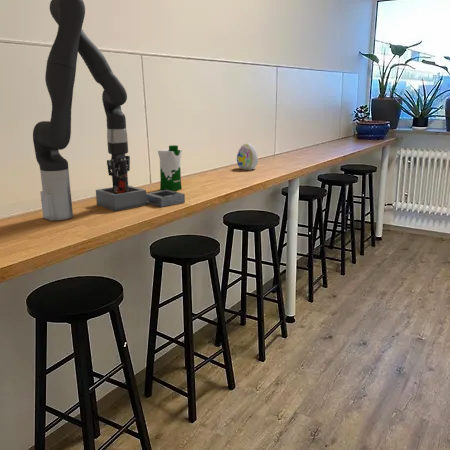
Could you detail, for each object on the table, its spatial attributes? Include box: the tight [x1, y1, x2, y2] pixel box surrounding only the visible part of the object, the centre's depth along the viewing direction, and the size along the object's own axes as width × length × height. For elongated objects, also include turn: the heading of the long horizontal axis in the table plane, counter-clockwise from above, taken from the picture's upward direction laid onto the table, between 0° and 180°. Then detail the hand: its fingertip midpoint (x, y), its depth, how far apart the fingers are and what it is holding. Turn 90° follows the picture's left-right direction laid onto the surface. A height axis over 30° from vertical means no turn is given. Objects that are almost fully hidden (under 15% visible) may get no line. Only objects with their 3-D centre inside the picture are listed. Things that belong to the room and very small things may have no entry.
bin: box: [95, 185, 148, 212], centre depth 177 cm, size 14×14×6 cm
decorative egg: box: [236, 142, 259, 171], centre depth 261 cm, size 12×12×15 cm
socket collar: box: [146, 190, 186, 208], centre depth 182 cm, size 12×12×4 cm
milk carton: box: [157, 144, 183, 192], centre depth 203 cm, size 9×9×20 cm
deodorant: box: [111, 160, 129, 194], centre depth 175 cm, size 6×6×15 cm
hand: (120, 184), depth 176 cm, fingers closed on deodorant, 6 cm apart
